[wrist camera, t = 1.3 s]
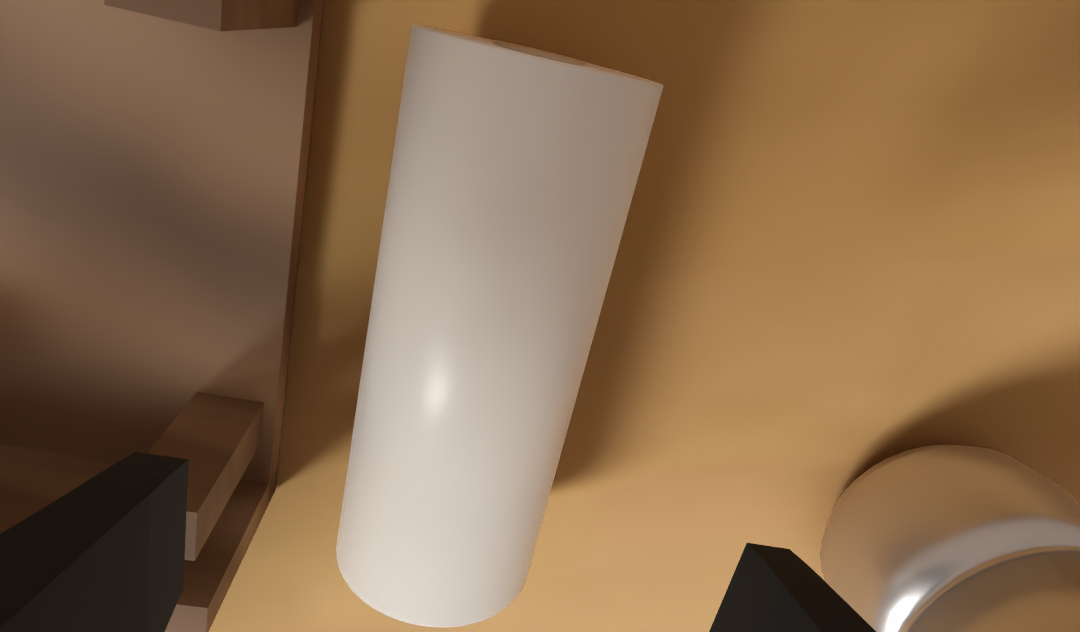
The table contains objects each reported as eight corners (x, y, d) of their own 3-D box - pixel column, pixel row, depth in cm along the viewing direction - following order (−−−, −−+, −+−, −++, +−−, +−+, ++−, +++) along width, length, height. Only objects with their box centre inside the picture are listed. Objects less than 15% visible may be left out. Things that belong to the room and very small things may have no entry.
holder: (275, 489, 19) (206, 636, 15) (-126, 430, 18) (-339, 573, 13) (338, -144, 14) (257, -223, 9) (-239, -298, 12) (-677, -484, 8)
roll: (524, 505, 20) (531, 642, 16) (356, 480, 20) (314, 614, 15) (639, 71, 16) (693, 92, 11) (425, 19, 15) (394, 21, 11)
